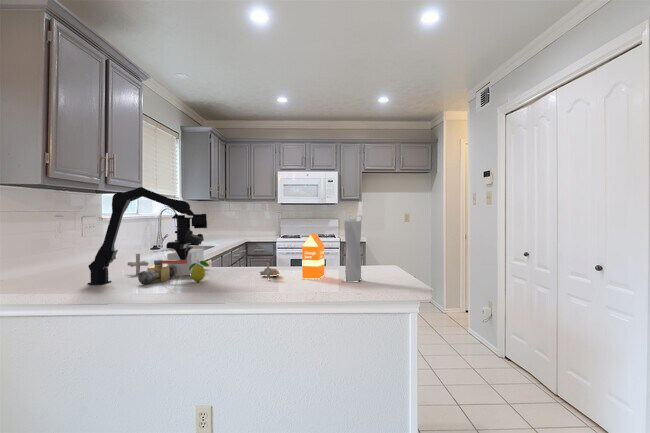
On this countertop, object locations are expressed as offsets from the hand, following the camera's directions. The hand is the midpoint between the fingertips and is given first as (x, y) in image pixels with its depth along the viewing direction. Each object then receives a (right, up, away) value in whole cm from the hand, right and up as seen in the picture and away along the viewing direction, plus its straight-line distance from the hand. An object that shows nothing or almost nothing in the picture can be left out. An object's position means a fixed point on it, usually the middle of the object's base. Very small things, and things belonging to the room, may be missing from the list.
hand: (183, 262), depth 162 cm
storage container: (-6, -8, +20) cm, 23 cm away
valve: (+39, -7, -1) cm, 40 cm away
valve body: (-9, -7, -5) cm, 13 cm away
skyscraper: (+77, -7, -10) cm, 78 cm away
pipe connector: (-29, -8, +16) cm, 34 cm away
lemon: (+10, -7, -10) cm, 16 cm away
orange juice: (+59, -7, -2) cm, 60 cm away
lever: (-4, 0, -5) cm, 7 cm away
